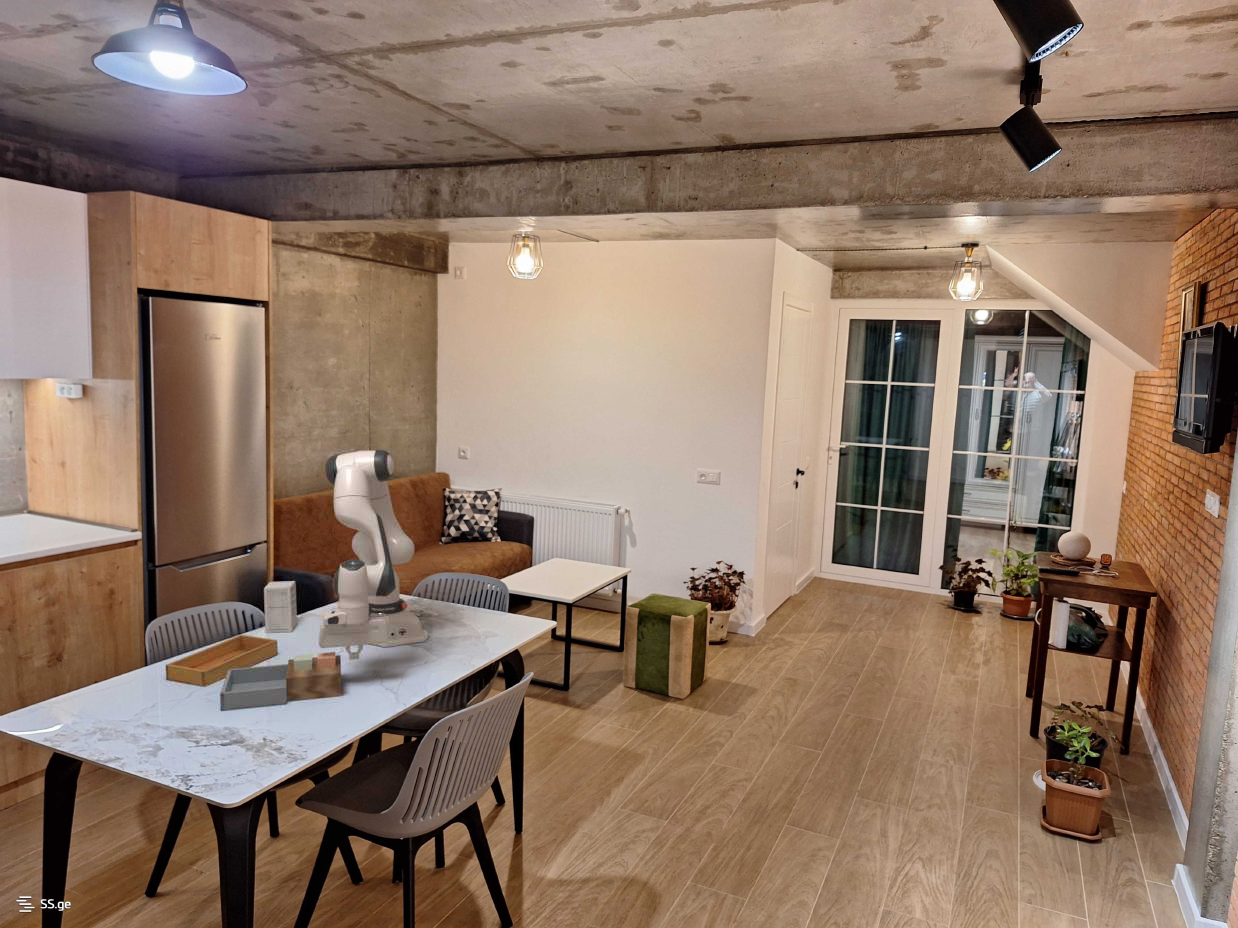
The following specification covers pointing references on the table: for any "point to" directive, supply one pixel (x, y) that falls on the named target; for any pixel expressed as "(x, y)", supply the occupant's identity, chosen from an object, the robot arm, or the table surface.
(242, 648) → the tray
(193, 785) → the table surface
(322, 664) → the terracotta tile
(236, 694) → the bin
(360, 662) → the table surface
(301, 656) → the sage tile
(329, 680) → the walnut ledge
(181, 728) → the table surface
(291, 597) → the white tall block
